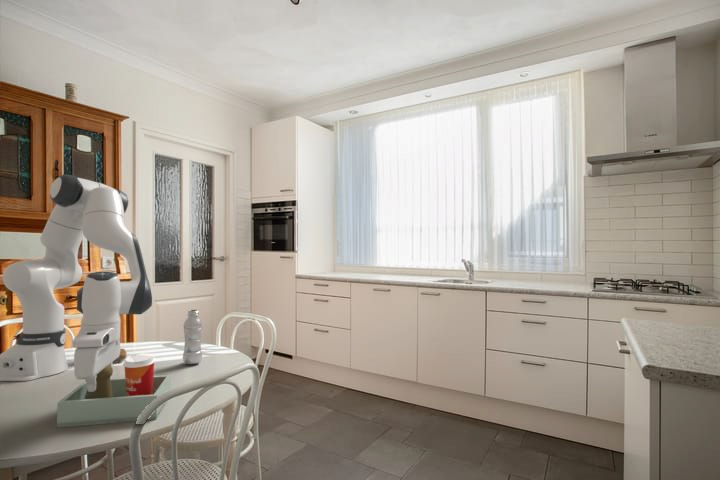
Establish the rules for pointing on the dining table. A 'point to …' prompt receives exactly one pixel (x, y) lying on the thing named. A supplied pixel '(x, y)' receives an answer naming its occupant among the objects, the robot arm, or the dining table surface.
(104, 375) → the cork
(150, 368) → the paper cup
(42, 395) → the dining table surface
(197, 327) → the plastic bottle
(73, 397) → the pale green tray
